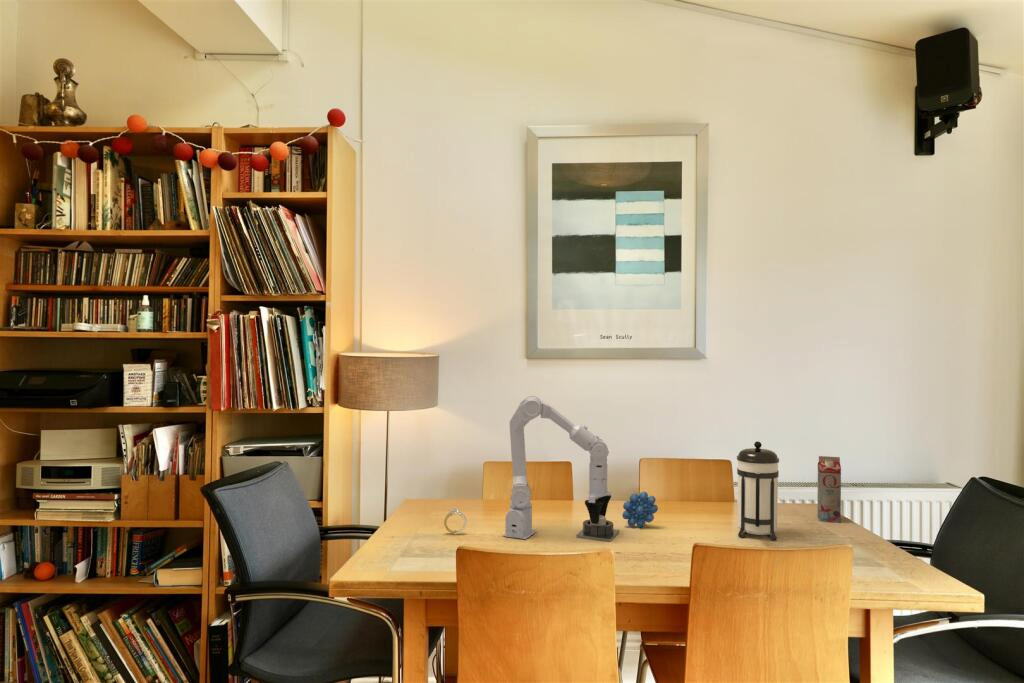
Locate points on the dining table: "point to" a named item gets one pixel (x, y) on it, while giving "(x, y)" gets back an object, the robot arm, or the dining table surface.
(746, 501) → the coffee press
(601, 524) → the cap
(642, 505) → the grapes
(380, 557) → the dining table surface
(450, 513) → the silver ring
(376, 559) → the dining table surface
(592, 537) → the flanged pipe fitting
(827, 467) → the juice carton
